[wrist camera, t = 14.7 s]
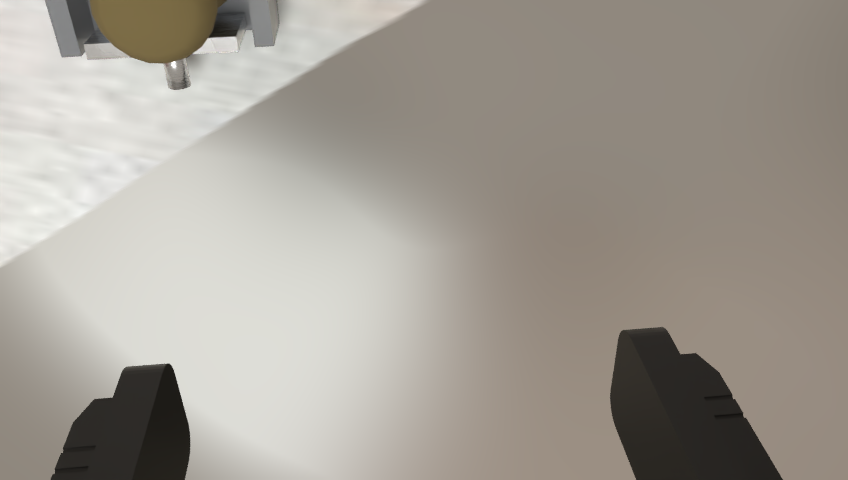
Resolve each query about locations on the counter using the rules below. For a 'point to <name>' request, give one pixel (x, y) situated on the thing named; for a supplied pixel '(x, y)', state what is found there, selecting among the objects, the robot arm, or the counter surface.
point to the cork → (156, 26)
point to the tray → (78, 24)
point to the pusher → (220, 41)
